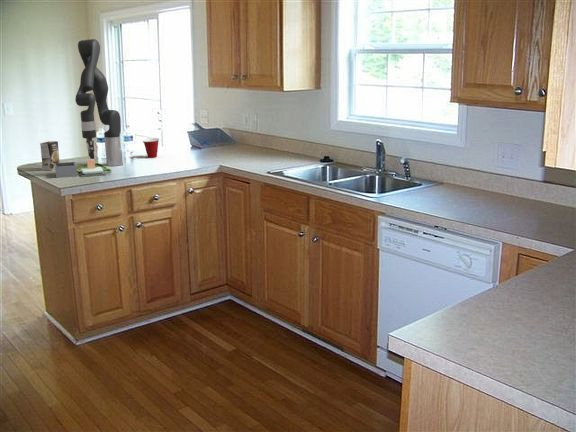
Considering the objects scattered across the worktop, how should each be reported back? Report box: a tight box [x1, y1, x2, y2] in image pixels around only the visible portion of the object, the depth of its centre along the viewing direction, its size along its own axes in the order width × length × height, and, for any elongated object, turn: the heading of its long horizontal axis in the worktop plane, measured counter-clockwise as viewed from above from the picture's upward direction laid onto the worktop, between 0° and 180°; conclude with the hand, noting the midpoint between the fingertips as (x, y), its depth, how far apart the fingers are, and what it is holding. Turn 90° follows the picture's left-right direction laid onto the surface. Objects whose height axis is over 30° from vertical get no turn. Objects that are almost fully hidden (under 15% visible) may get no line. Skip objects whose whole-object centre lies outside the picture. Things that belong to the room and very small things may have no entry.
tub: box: [54, 161, 78, 179], centre depth 347 cm, size 11×13×6 cm
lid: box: [80, 158, 104, 175], centre depth 350 cm, size 11×13×7 cm
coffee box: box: [39, 140, 61, 172], centre depth 363 cm, size 9×6×16 cm
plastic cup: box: [142, 137, 160, 159], centre depth 402 cm, size 11×11×12 cm
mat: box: [79, 170, 106, 178], centre depth 351 cm, size 13×15×1 cm
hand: (91, 157), depth 352 cm, fingers open, 8 cm apart
